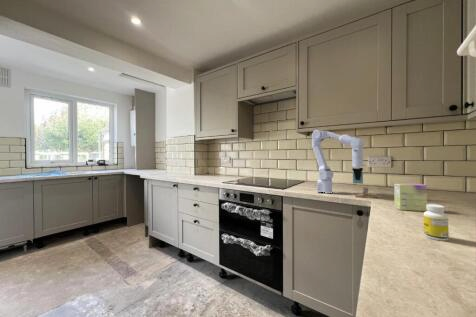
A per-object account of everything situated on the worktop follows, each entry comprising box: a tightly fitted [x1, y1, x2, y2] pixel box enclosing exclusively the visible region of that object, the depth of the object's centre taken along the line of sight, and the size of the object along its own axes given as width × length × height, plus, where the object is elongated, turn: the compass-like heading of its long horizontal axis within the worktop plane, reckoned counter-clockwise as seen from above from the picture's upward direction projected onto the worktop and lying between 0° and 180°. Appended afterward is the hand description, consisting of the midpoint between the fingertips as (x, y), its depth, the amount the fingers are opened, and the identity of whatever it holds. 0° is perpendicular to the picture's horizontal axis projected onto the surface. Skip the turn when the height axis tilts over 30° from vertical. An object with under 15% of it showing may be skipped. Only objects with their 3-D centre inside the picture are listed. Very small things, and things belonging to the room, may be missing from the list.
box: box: [393, 182, 428, 212], centre depth 94 cm, size 10×6×12 cm, turn 74°
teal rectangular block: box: [352, 171, 364, 184], centre depth 126 cm, size 5×5×7 cm
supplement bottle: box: [423, 203, 450, 242], centre depth 62 cm, size 5×5×10 cm
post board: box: [354, 187, 378, 200], centre depth 126 cm, size 11×11×5 cm
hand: (357, 179), depth 126 cm, fingers closed on teal rectangular block, 5 cm apart
